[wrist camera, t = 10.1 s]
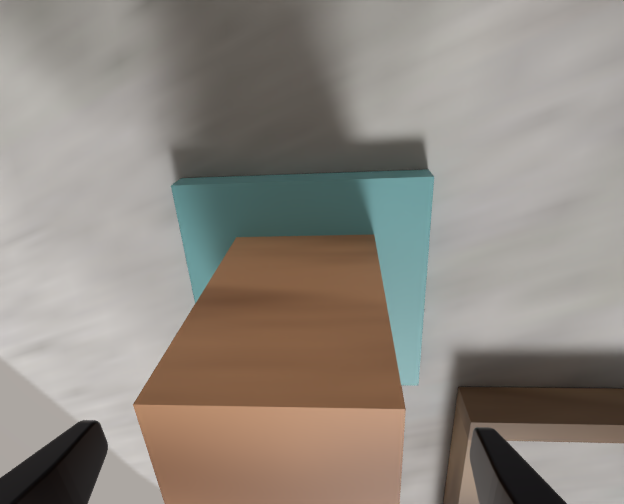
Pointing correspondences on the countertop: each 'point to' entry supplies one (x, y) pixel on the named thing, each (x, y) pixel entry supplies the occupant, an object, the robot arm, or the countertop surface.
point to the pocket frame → (528, 423)
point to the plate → (321, 230)
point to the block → (281, 381)
